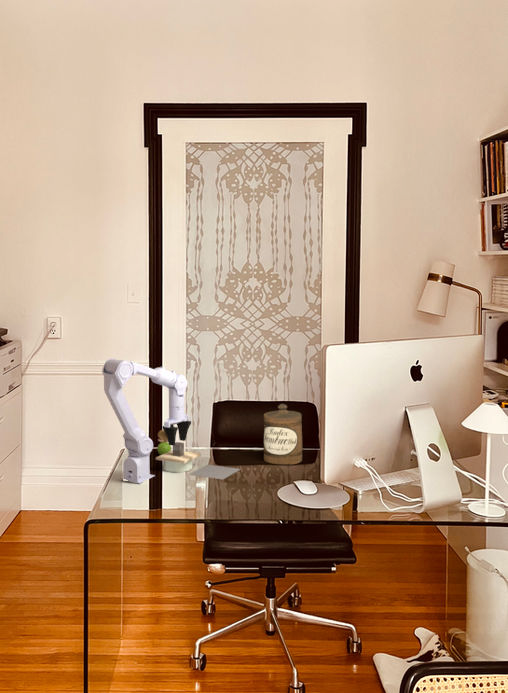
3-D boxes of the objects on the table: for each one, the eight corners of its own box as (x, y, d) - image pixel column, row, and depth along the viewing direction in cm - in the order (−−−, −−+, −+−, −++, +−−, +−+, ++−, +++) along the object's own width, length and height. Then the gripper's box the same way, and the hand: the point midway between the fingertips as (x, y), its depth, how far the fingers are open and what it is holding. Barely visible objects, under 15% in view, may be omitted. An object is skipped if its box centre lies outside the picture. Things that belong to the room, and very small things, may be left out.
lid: (184, 463, 254) (184, 448, 254) (155, 459, 260) (155, 445, 259) (200, 455, 265) (200, 441, 265) (173, 451, 270) (172, 438, 270)
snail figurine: (172, 457, 280) (172, 427, 278) (156, 457, 280) (156, 427, 278) (174, 453, 285) (174, 424, 284) (158, 453, 285) (158, 424, 284)
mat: (223, 480, 249) (223, 479, 249) (188, 475, 255) (188, 474, 255) (240, 470, 262) (240, 469, 262) (207, 465, 268) (207, 464, 267)
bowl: (182, 474, 256) (182, 462, 256) (158, 471, 261) (158, 459, 260) (196, 467, 265) (196, 455, 265) (173, 464, 270) (173, 452, 269)
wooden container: (258, 463, 270) (258, 406, 268) (270, 453, 284) (270, 399, 282) (296, 467, 266) (296, 409, 263) (306, 456, 280) (306, 401, 277)
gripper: (175, 410, 252) (176, 448, 254) (196, 403, 265) (196, 439, 267) (158, 409, 255) (159, 446, 257) (179, 402, 268) (180, 437, 270)
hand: (177, 442), depth 262 cm, fingers open, 7 cm apart
